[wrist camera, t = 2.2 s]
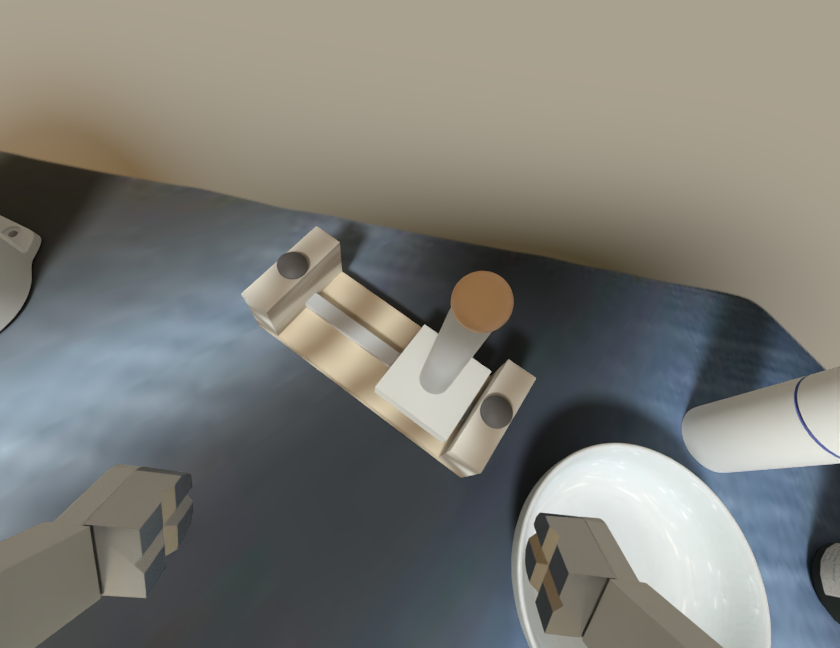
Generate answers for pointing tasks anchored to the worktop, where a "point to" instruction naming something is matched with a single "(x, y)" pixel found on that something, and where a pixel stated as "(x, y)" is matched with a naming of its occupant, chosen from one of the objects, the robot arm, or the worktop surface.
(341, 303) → the rail
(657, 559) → the serving bowl
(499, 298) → the carriage
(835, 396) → the cylindrical container
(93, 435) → the worktop surface
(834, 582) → the wine bottle
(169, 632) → the worktop surface
